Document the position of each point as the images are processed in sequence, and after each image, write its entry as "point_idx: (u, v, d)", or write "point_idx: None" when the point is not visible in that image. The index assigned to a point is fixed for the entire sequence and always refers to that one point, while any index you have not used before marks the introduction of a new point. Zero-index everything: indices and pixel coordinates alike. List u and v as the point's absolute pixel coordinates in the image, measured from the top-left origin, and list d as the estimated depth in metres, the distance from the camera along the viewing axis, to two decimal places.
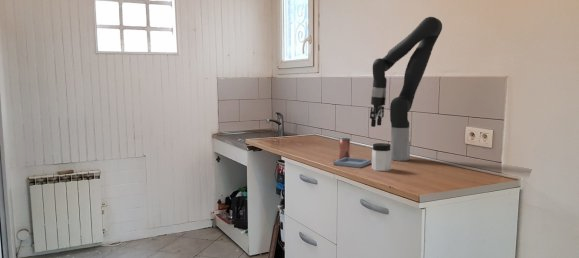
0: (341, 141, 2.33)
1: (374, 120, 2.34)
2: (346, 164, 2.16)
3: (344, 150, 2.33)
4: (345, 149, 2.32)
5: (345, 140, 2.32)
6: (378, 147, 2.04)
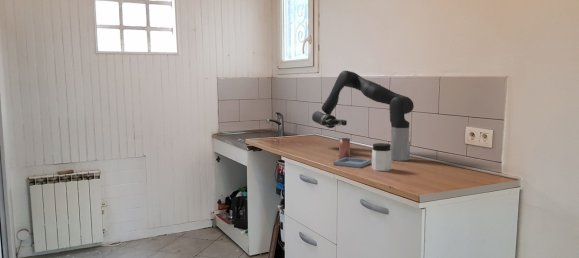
0: (341, 141, 2.33)
1: (327, 122, 2.47)
2: (346, 164, 2.16)
3: (344, 150, 2.33)
4: (345, 149, 2.32)
5: (345, 140, 2.32)
6: (378, 147, 2.04)
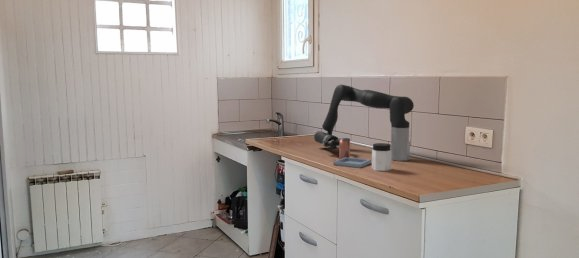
0: (342, 141, 2.33)
1: (329, 143, 2.44)
2: (346, 164, 2.16)
3: (344, 150, 2.33)
4: (345, 149, 2.32)
5: (345, 140, 2.32)
6: (378, 147, 2.04)
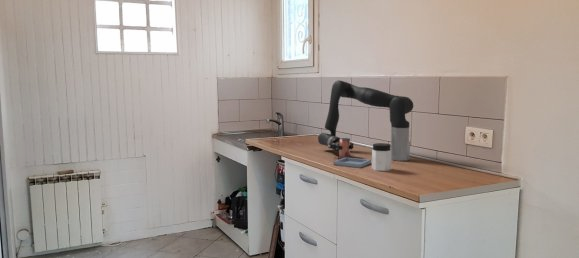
0: (341, 141, 2.33)
1: (337, 145, 2.35)
2: (346, 164, 2.16)
3: (344, 150, 2.33)
4: (345, 149, 2.32)
5: (345, 140, 2.32)
6: (378, 147, 2.04)
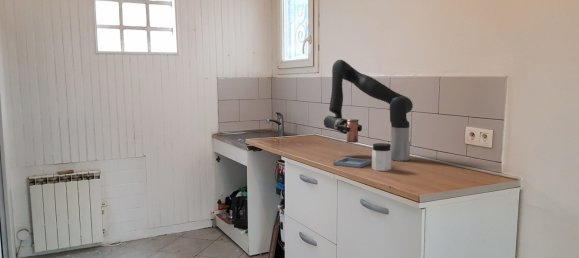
0: (349, 123, 2.17)
1: (344, 127, 2.20)
2: (346, 164, 2.16)
3: (352, 132, 2.17)
4: (353, 131, 2.17)
5: (353, 121, 2.17)
6: (378, 147, 2.04)
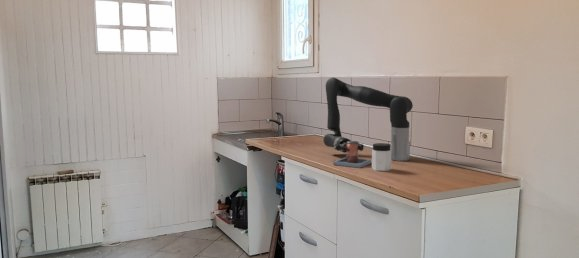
0: (349, 145, 2.18)
1: (341, 146, 2.21)
2: (346, 164, 2.16)
3: (352, 154, 2.18)
4: (353, 153, 2.18)
5: (353, 143, 2.18)
6: (378, 147, 2.04)
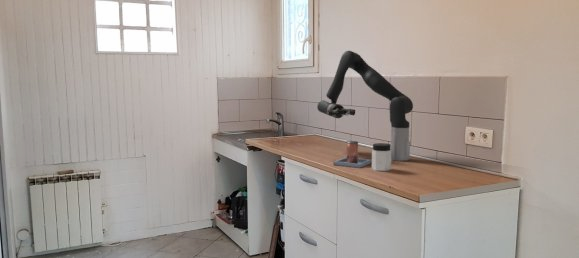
0: (349, 145, 2.18)
1: (334, 112, 2.32)
2: (346, 164, 2.16)
3: (352, 154, 2.18)
4: (353, 153, 2.18)
5: (353, 143, 2.18)
6: (378, 147, 2.04)
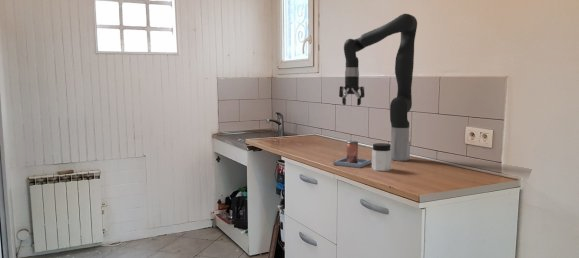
0: (349, 145, 2.18)
1: (342, 98, 2.48)
2: (346, 164, 2.16)
3: (352, 154, 2.18)
4: (353, 153, 2.18)
5: (353, 143, 2.18)
6: (378, 147, 2.04)
